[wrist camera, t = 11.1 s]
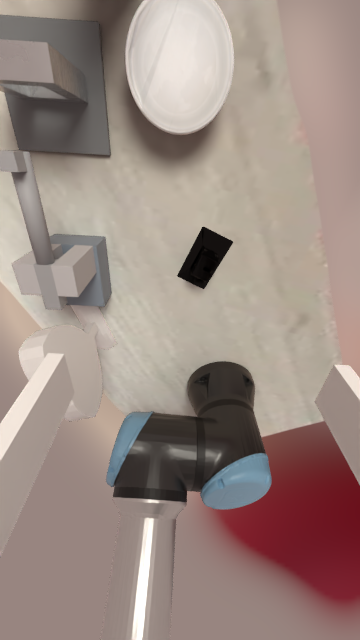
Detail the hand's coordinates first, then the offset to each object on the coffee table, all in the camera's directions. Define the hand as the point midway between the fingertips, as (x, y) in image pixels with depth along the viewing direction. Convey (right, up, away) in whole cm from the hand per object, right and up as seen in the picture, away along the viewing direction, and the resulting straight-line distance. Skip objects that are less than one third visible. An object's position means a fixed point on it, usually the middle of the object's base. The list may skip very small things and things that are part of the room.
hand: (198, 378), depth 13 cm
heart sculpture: (-18, +2, +37) cm, 41 cm away
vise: (-17, +17, +27) cm, 36 cm away
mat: (-16, +31, +18) cm, 39 cm away
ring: (-16, +31, +17) cm, 39 cm away
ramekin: (-1, +32, +17) cm, 36 cm away
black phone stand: (+3, +13, +30) cm, 33 cm away
